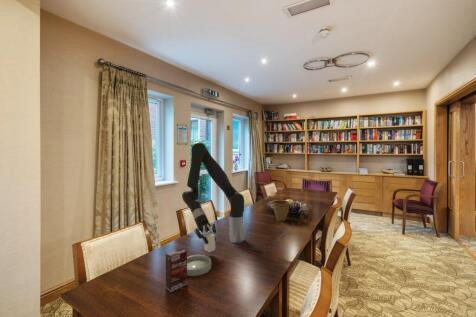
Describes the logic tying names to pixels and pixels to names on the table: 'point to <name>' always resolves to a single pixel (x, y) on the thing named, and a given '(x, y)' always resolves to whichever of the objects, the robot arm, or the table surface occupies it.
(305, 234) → the table surface
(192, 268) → the round tray
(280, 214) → the plant pot
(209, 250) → the cream rectangular block
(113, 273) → the table surface
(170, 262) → the supplement box
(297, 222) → the table surface
